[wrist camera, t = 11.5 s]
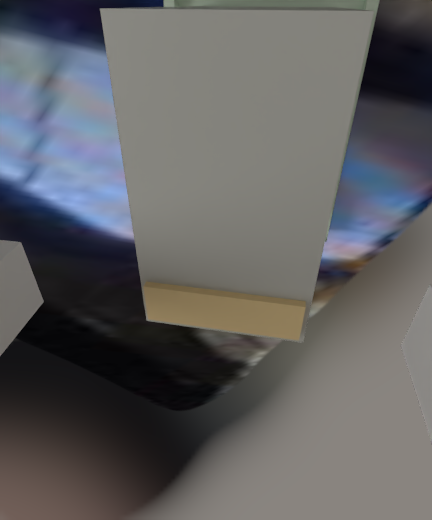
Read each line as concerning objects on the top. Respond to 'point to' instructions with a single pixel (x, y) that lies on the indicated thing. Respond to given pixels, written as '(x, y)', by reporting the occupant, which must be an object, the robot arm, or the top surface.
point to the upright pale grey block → (233, 154)
